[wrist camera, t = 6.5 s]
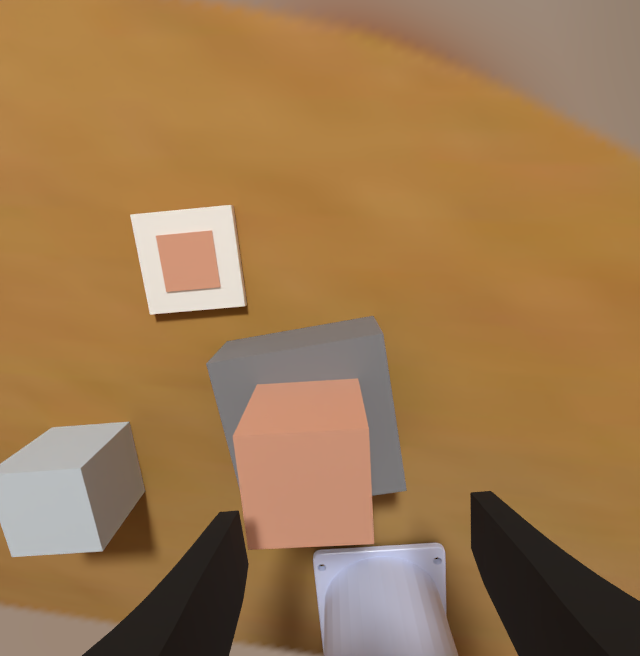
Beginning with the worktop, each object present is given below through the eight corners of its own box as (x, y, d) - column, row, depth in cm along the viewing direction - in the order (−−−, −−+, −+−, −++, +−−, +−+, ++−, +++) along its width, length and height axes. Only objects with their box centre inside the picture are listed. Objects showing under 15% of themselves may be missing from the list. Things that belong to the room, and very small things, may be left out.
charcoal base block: (392, 446, 23) (406, 490, 19) (259, 466, 23) (246, 513, 19) (372, 314, 21) (382, 333, 17) (228, 339, 21) (206, 363, 17)
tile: (247, 304, 20) (244, 306, 20) (154, 312, 20) (149, 314, 20) (233, 205, 19) (230, 204, 19) (135, 215, 19) (129, 214, 19)
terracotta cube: (362, 468, 18) (374, 544, 14) (267, 473, 19) (248, 549, 14) (358, 378, 17) (369, 428, 13) (256, 384, 17) (232, 436, 13)
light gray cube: (145, 490, 23) (102, 551, 19) (71, 495, 23) (11, 556, 19) (130, 420, 22) (80, 468, 18) (52, 426, 22) (-16, 475, 18)
